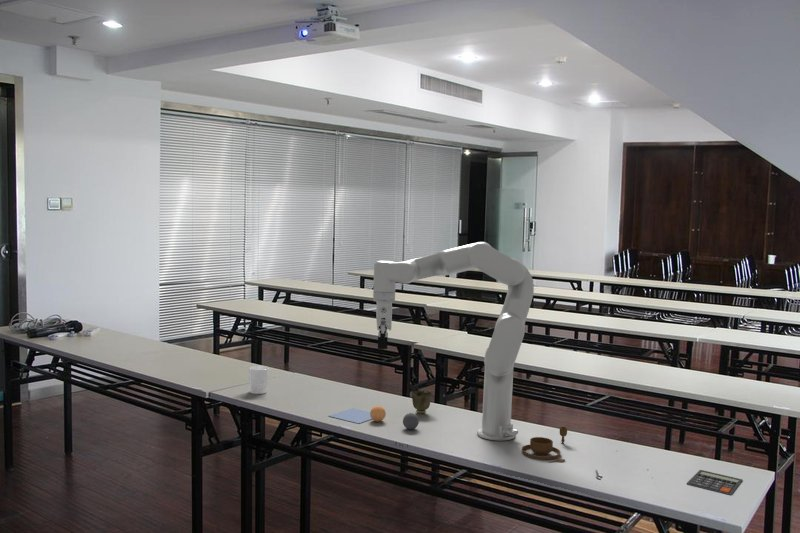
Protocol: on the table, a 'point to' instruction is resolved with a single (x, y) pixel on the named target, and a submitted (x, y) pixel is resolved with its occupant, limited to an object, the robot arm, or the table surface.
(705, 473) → the calculator
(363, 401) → the table surface
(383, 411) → the orange ball
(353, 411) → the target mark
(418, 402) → the brown round vessel
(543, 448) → the place setting
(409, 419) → the gray ball
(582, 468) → the table surface
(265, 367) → the white cup
